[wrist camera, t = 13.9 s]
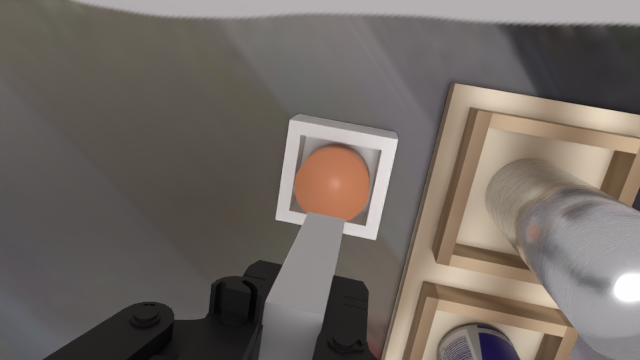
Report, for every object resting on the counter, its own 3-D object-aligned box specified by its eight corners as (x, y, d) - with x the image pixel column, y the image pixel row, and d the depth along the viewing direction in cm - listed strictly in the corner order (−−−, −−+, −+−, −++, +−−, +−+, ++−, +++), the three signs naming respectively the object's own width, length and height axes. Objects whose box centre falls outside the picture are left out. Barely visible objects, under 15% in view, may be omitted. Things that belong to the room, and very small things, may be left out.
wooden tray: (374, 386, 33) (374, 422, 29) (450, 82, 26) (462, 84, 23) (526, 421, 32) (544, 463, 29) (648, 116, 25) (690, 124, 22)
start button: (297, 202, 27) (289, 215, 25) (307, 137, 26) (300, 145, 24) (362, 215, 27) (361, 230, 24) (375, 150, 26) (376, 159, 23)
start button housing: (284, 204, 30) (275, 219, 27) (298, 113, 28) (289, 119, 25) (375, 222, 29) (375, 240, 26) (395, 131, 27) (398, 139, 24)
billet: (475, 225, 27) (552, 346, 15) (497, 150, 25) (601, 223, 14) (554, 240, 26) (693, 377, 15) (581, 166, 25) (759, 254, 13)
